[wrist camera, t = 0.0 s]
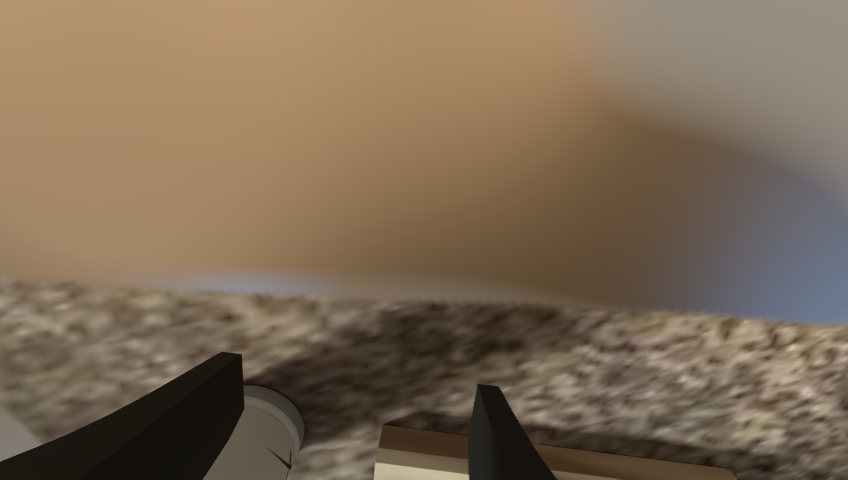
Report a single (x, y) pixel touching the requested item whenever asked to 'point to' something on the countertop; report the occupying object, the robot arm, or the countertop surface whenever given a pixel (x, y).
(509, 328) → the countertop surface
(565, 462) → the keyhole plate
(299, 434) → the travel mug
